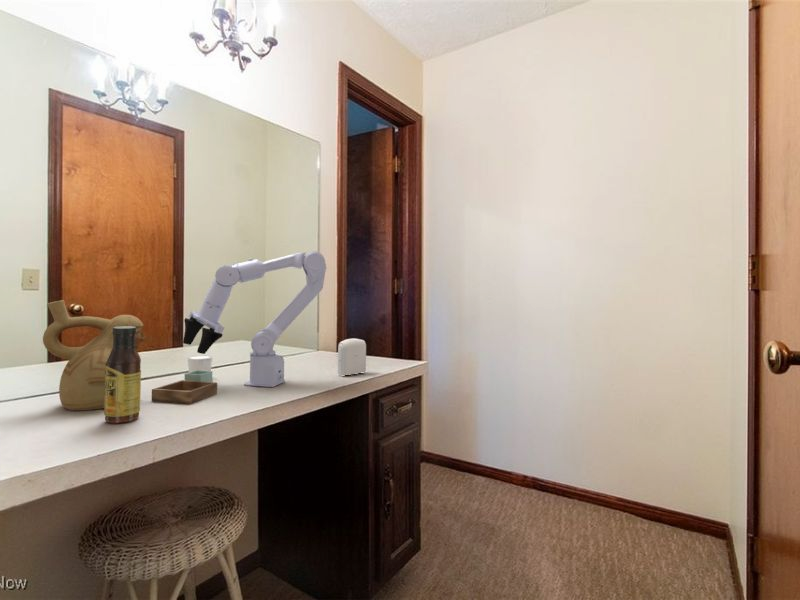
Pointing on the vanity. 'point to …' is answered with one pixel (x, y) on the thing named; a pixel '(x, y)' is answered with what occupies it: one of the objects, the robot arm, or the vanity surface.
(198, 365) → the white rounded block
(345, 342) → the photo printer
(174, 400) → the wooden tray
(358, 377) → the vanity surface
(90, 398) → the ceramic vessel
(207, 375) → the mint green block
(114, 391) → the sauce bottle
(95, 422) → the vanity surface
